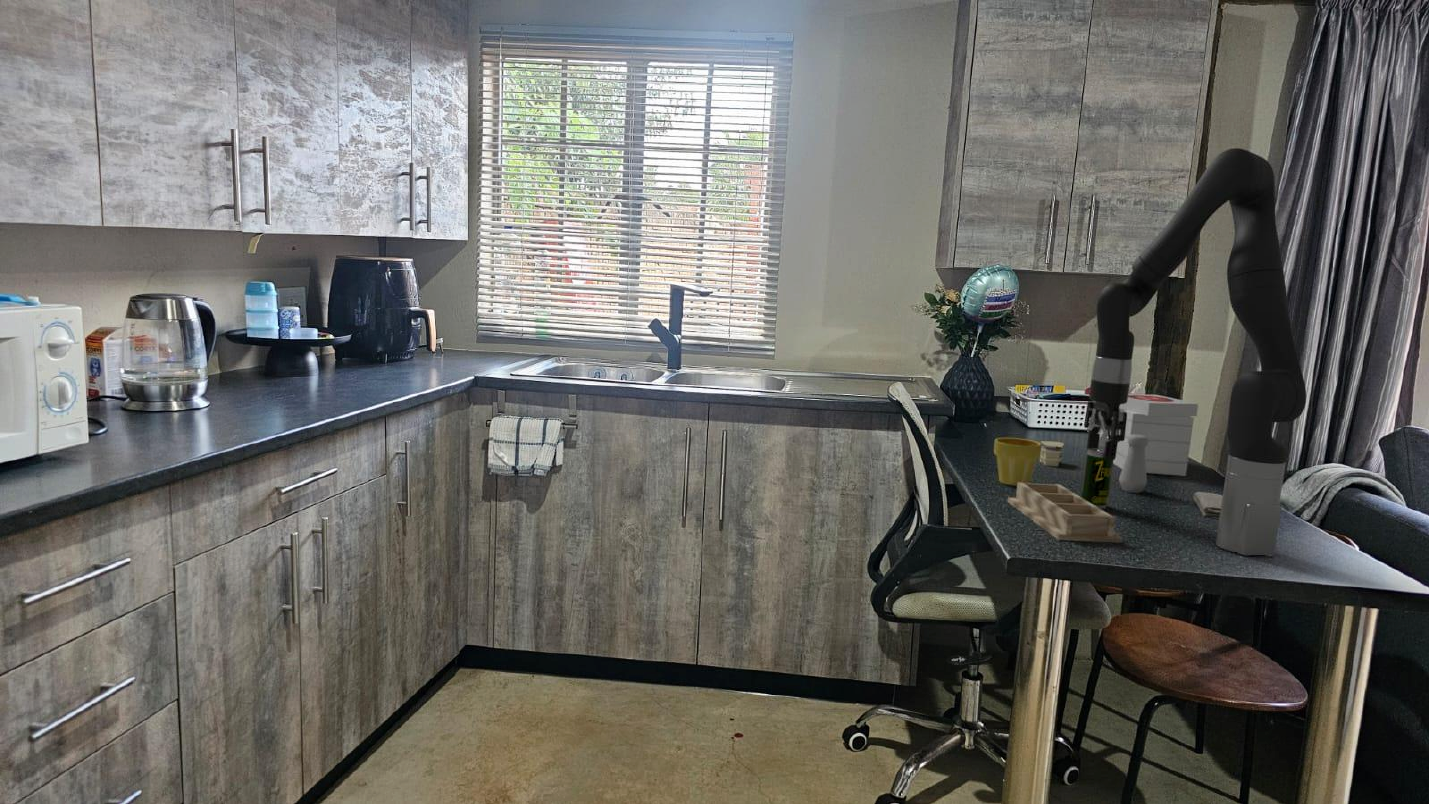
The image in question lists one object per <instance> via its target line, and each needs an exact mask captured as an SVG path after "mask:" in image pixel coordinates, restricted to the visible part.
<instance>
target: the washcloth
mask: <svg viewBox="0 0 1429 804" xmlns="http://www.w3.org/2000/svg"><path fill="white" fill-rule="evenodd" d="M1222 497H1223V494H1218V493H1212V492H1202V491H1197V492H1194V495H1193V497H1192V498H1193V501H1195V503H1196V506H1197V507H1198V509H1200V510H1199V511H1201V514H1202V516H1203V517H1205V518H1207V517H1208V518H1213V519H1218V520H1219V517H1220V511H1221V504H1222Z"/></svg>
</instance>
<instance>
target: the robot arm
mask: <svg viewBox="0 0 1429 804" xmlns="http://www.w3.org/2000/svg"><path fill="white" fill-rule="evenodd" d="M1275 180H1276V179H1275V173H1274V170H1273V167H1272V165H1271V164H1270V163H1269V161H1268V160H1267V159H1265V158H1264V157H1262V156H1261V155H1258V154H1256V153H1254V152H1252V151H1249V150H1247V149H1244V148H1239V147H1237V148H1236V147H1234V148H1229V149H1227V150H1224V151H1221V153H1219V154H1218V155H1216V157H1215V158H1214V159H1213V160H1212V161H1211V163H1210V164H1209V165H1208V167H1207V168H1206V169H1205V171H1204V172H1203V173H1202V175H1201V176H1200V178H1199V179H1198V181H1197V182H1196V184H1195V186H1194V187H1193V188H1192V190H1190V193H1189V194H1188V195H1187V197H1186V198H1185V200H1184V201H1183V202H1182V204H1181V206H1180V207H1179V208H1178V210H1177V211H1176V212H1175V214H1174V215H1173V216H1172V217H1171V219H1170V221H1168V223H1167V224H1166V225H1165V227H1164V228H1163V229H1162V231H1161V232H1160V233H1159V234H1157V236H1156V237H1155V238H1154V239H1153V240H1152V241H1151V243H1150V244H1149V245H1148V246H1147V247H1146V248H1145V249H1144V250H1143V251H1142V252H1141V253H1140V255H1138V256H1137V257H1136V259H1135V260H1134V262H1133V264H1132V266H1131V269H1132V271H1131V272H1130V274H1129V275H1128V276H1127V278H1126V279H1125V280H1124V281H1123V282H1115V283H1110V284H1107V285H1106V286H1104V287H1103V288H1102V289H1101V292H1100V293H1099V295H1098V298H1097V303H1096V319H1097V331H1098V338H1097V345H1096V352H1095V360H1094V362H1093V365H1092V372H1091V380H1090V386H1089V387H1090V388H1089V393H1088V397H1089V400H1088V401H1087V404H1086V412H1085V417H1084V418H1085V419H1084V425H1083V426H1084V428H1085V429H1086V431H1087V433H1088V435H1087V442H1086V443H1087V444H1086V450H1087V451H1088V449H1089V448H1099V446H1098V445H1099V438H1100V434H1098V433H1100V431H1101V430H1102V431H1103V432H1104V433H1105V436H1106V444H1105V447H1104V449H1105V451H1104V458H1105V459H1107V460H1114V459H1115V458H1116V451H1117V444H1118V442H1120V441H1124V439H1125V430H1126V421H1127V412H1120V410H1119V406H1120V405H1121V404H1125V403H1127V400H1128V394H1130V393H1129V391H1130V385H1131V377H1132V370H1133V369H1132V367H1133V366H1132V361H1133V353H1134V346H1135V335H1134V333H1133V332H1132V331H1130V318H1131V317H1134V316H1136V315H1137V314H1139V313H1141V311H1142V310H1143V309H1145V307H1147V306H1148V305H1149V303H1150V302H1151V300H1152V299H1153V298H1154V295H1156V293H1157V292H1158V290H1159V289H1160V287H1161V285H1162V284H1163V283H1164V282H1165V281H1166V280H1167V279H1168V278H1169V277H1170V276H1171V275H1172V274H1173V273H1174V272H1175V271H1176V270H1177V269H1178V268H1179V267H1180V265H1181V264H1182V263H1184V261H1185V260H1186V258H1187V257H1188V256H1189V254H1190V253H1191V251H1192V250H1193V248H1194V246H1195V244H1196V242H1197V240H1198V238H1199V235H1200V233H1201V231H1202V230H1203V228H1204V226H1205V225H1206V224H1207V222H1208V220H1209V219H1210V218H1211V217H1212V216H1213V215H1214V213H1216V211H1218V210H1219V209H1220V208H1221V207H1222V206H1223V205H1224V204H1226V203H1227V202H1229V205H1230V209H1231V213H1232V214H1231V215H1232V219H1233V224H1234V227H1233V228H1234V239H1233V244H1232V247H1231V250H1230V254H1229V259H1228V263H1227V269H1226V280H1227V286H1228V294H1229V301H1230V306H1231V309H1232V311H1233V313H1234V315H1235V317H1236V318H1237V320H1238V321H1239V323H1240V324H1241V326H1242V327H1243V329H1244V330H1245V331H1246V333H1247V334H1248V336H1249V337H1250V339H1251V340H1252V342H1253V344H1254V346H1255V348H1256V351H1257V353H1258V358H1259V362H1260V369H1261V370H1251V371H1246V372H1244V373H1243V374H1241V375H1240V376H1239V377H1238V378H1237V379H1236V380H1235V382H1234V383H1233V386H1232V390H1231V393H1230V397H1229V399H1230V401H1229V410H1228V422H1227V430H1226V431H1227V434H1226V436H1227V442H1228V444H1229V451H1228V459H1227V465H1226V472H1225V476H1224V477H1225V478H1224V485H1223V492H1222V495H1223V497H1222V504H1221V511H1220V517H1219V519H1218V526H1217V533H1216V540H1215V544H1216V546H1217V547H1219V548H1221V549H1224V550H1226V551H1228V552H1232V553H1235V552H1237V554H1239V555H1241V554H1242V555H1241V556H1250V555H1271V556H1274V557H1275V553H1276V546H1277V541H1278V534H1279V533H1278V532H1279V526H1280V522H1281V520H1280V519H1281V515H1282V506H1281V505H1280V501H1281V497H1282V496H1281V494H1282V488H1283V481H1284V477H1285V470H1286V463H1287V457H1288V448H1287V446H1286V445H1285V444H1282V443H1280V442H1278V441H1276V440H1275V439H1274V438H1273V435H1272V434H1273V433H1272V427H1273V425H1272V423H1289V422H1294V421H1295V420H1297V419H1299V417H1301V415H1303V412H1304V410H1305V408H1306V405H1307V404H1306V403H1307V389H1306V383H1305V379H1304V375H1303V371H1302V368H1301V364H1300V360H1299V357H1298V353H1297V352H1298V351H1297V349H1296V348H1297V347H1296V343H1295V341H1294V339H1295V338H1294V336H1293V335H1294V333H1293V329H1292V327H1293V326H1292V324H1291V323H1292V322H1291V316H1290V310H1289V305H1288V304H1289V303H1288V296H1287V286H1286V278H1285V271H1284V266H1283V260H1282V253H1281V247H1280V240H1279V235H1278V234H1279V233H1278V230H1277V222H1276V221H1277V220H1276V191H1275V190H1276V186H1275V184H1276V183H1275ZM1090 400H1091V401H1090ZM1119 431H1120V435H1119ZM1110 432H1111V436H1110ZM1271 556H1270V557H1271Z"/></svg>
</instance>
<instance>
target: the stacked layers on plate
mask: <svg viewBox="0 0 1429 804" xmlns="http://www.w3.org/2000/svg"><path fill="white" fill-rule="evenodd" d="M1040 443H1041V444H1042V445H1041V455H1040V458H1039V463H1042V462H1043V463H1044V464H1043V463H1042V464H1043V465H1044V466H1049V467H1059V463H1060V461H1062V459H1063V458H1064V457H1063V456H1062V453H1063V451H1064V450H1065V449H1064V448H1063V446H1064V445H1065V443H1063V442H1060V441H1048V440H1047V441H1046V440H1045V441H1043V440H1042V441H1040Z"/></svg>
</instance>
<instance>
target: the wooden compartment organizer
mask: <svg viewBox="0 0 1429 804" xmlns="http://www.w3.org/2000/svg"><path fill="white" fill-rule="evenodd" d="M1007 503H1008V504H1009V503H1010V506H1012V507H1013V508H1014V509H1016V510H1018V511H1019V512H1020V511H1021V512H1020V513H1022V514H1023V515H1024V516H1026V517H1027V518H1029V520H1031V521H1032V520H1033V521H1032V522H1034V523H1035V524H1036V525H1038V526H1039V527H1040V528H1042V529H1043V530H1044V531H1046V532H1047V533H1048V534H1049V535H1051V536H1052V537H1053V538H1055V539H1056V540H1058V541H1076V542H1077V541H1078V542H1094V543H1095V542H1099V543H1100V542H1101V543H1116V544H1118V543H1119V544H1120V543H1122V542H1123V536H1121V535H1119V534H1118V533H1116V532H1115V526H1116V519H1117V518H1116V517H1115V516H1113V515H1111V514H1110V513H1108V512H1106V511H1104V510H1103V509H1100V508H1098V507H1096V506H1095V505H1093V504H1091V503H1090V502H1088V501H1086V500H1085V499H1083V498H1081V496H1079V495H1078V494H1076V493H1075V492H1073V491H1071V490H1069V489H1068V488H1067V487H1065V486H1063V485H1061V484H1060V483H1055V484H1054V483H1051V484H1050V483H1049V484H1048V483H1034V482H1032V483H1031V482H1030V483H1022V482H1018V483H1017V486H1016V492H1015V497H1007Z"/></svg>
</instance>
